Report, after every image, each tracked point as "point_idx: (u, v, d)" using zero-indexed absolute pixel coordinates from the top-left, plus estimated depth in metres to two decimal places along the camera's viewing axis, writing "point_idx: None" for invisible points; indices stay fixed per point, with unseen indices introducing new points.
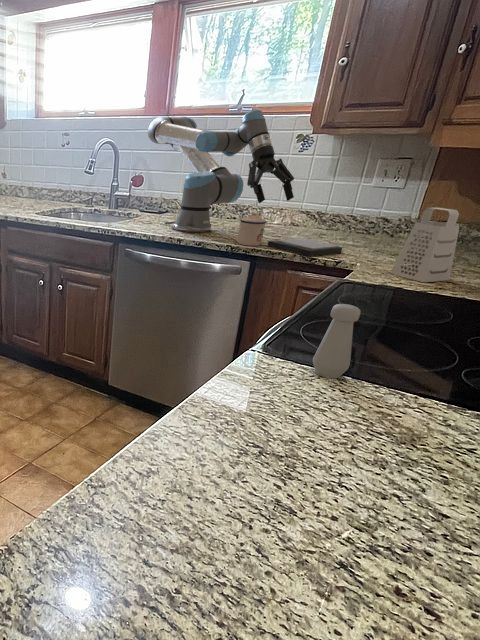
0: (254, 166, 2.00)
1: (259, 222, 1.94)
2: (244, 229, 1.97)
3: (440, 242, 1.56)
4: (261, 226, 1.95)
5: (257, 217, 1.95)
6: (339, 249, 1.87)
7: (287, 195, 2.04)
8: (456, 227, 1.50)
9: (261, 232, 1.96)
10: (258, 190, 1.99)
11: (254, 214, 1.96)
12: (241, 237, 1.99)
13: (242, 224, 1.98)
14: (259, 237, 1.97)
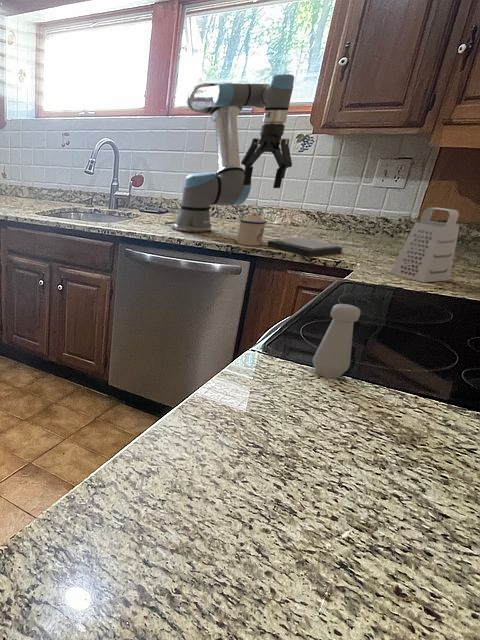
0: (251, 146, 1.94)
1: (259, 222, 1.94)
2: (244, 229, 1.97)
3: (440, 242, 1.56)
4: (261, 226, 1.95)
5: (257, 217, 1.95)
6: (339, 249, 1.87)
7: None
8: (456, 227, 1.50)
9: (261, 232, 1.96)
10: None
11: (254, 214, 1.96)
12: (241, 237, 1.99)
13: (242, 224, 1.98)
14: (259, 237, 1.97)
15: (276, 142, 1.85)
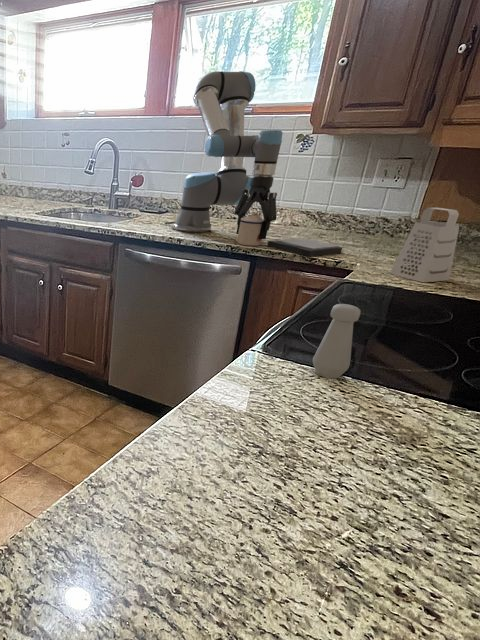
0: (242, 196, 2.01)
1: (259, 222, 1.94)
2: (244, 229, 1.97)
3: (440, 242, 1.56)
4: None
5: (257, 217, 1.95)
6: (339, 249, 1.87)
7: None
8: (456, 227, 1.50)
9: None
10: None
11: (254, 214, 1.96)
12: (241, 237, 1.99)
13: (242, 224, 1.98)
14: None
15: (265, 194, 1.91)
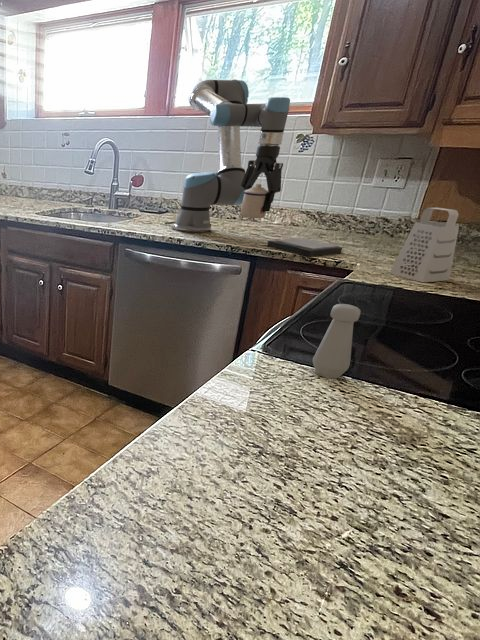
0: (248, 168, 1.97)
1: (263, 194, 1.91)
2: (247, 202, 1.94)
3: (440, 242, 1.56)
4: None
5: (261, 189, 1.92)
6: (339, 249, 1.87)
7: None
8: (456, 227, 1.50)
9: None
10: None
11: (258, 186, 1.93)
12: (245, 209, 1.96)
13: (245, 196, 1.95)
14: None
15: (271, 164, 1.87)
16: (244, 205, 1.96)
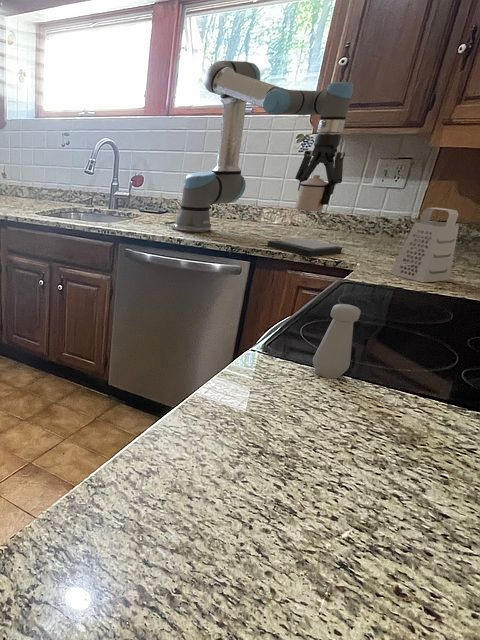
0: (304, 158, 1.86)
1: (322, 185, 1.80)
2: (304, 194, 1.83)
3: (440, 242, 1.56)
4: None
5: (319, 180, 1.81)
6: (339, 249, 1.87)
7: None
8: (455, 227, 1.50)
9: None
10: (299, 188, 1.89)
11: (316, 177, 1.82)
12: (301, 202, 1.84)
13: (302, 188, 1.83)
14: None
15: (331, 153, 1.76)
16: (300, 198, 1.84)
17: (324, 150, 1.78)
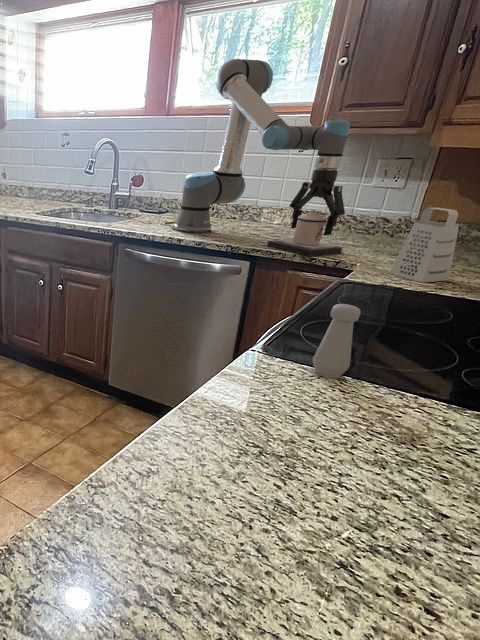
0: (301, 189, 1.89)
1: (319, 220, 1.84)
2: (301, 228, 1.87)
3: (439, 242, 1.56)
4: (321, 224, 1.85)
5: (316, 215, 1.85)
6: (339, 249, 1.87)
7: None
8: (455, 227, 1.50)
9: (320, 231, 1.86)
10: (293, 216, 1.94)
11: (313, 212, 1.86)
12: (298, 236, 1.88)
13: (300, 222, 1.87)
14: (318, 236, 1.86)
15: (328, 188, 1.80)
16: (298, 232, 1.88)
17: (321, 185, 1.82)
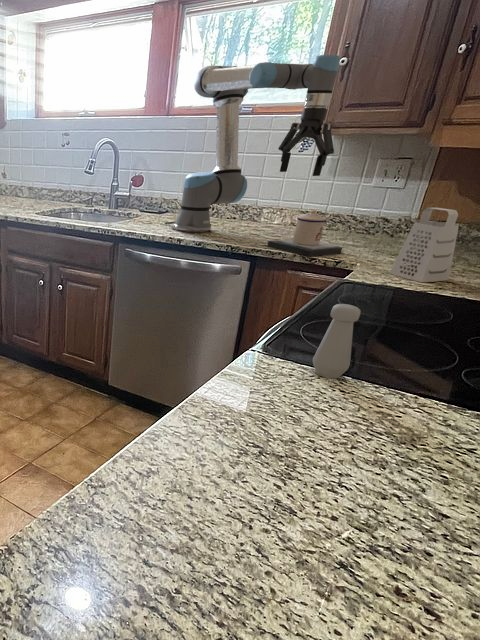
0: (290, 130, 1.86)
1: (319, 220, 1.84)
2: (301, 228, 1.87)
3: (439, 242, 1.56)
4: (321, 224, 1.85)
5: (316, 215, 1.85)
6: (339, 249, 1.87)
7: None
8: (455, 227, 1.50)
9: (320, 231, 1.86)
10: None
11: (313, 212, 1.86)
12: (298, 236, 1.88)
13: (300, 222, 1.87)
14: (318, 236, 1.86)
15: (318, 127, 1.76)
16: (298, 232, 1.88)
17: (310, 124, 1.79)
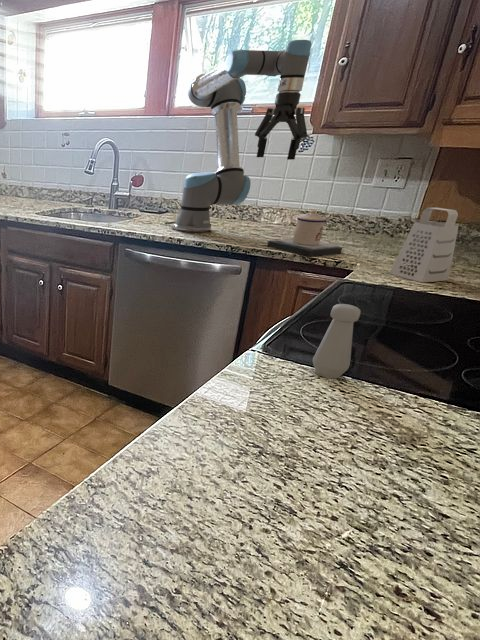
0: (265, 116, 1.89)
1: (319, 220, 1.84)
2: (301, 228, 1.87)
3: (439, 242, 1.56)
4: (321, 224, 1.85)
5: (316, 215, 1.85)
6: (339, 249, 1.87)
7: None
8: (455, 227, 1.50)
9: (320, 231, 1.86)
10: (259, 144, 1.93)
11: (313, 212, 1.86)
12: (298, 236, 1.88)
13: (300, 222, 1.87)
14: (318, 236, 1.86)
15: (291, 111, 1.79)
16: (298, 232, 1.88)
17: (284, 109, 1.81)
